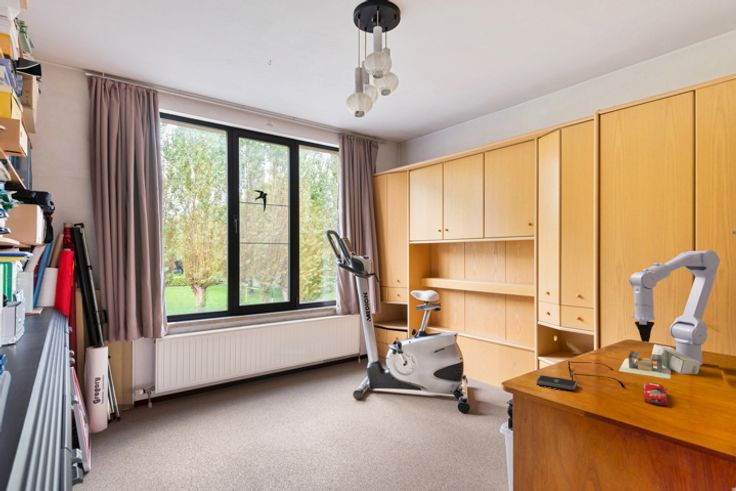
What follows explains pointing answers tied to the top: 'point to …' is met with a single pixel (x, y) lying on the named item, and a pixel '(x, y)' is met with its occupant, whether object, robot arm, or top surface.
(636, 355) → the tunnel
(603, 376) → the eyeglasses
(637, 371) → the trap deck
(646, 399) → the race car
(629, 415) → the top surface
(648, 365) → the wooden block
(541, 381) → the external hard drive
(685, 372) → the syrup box
